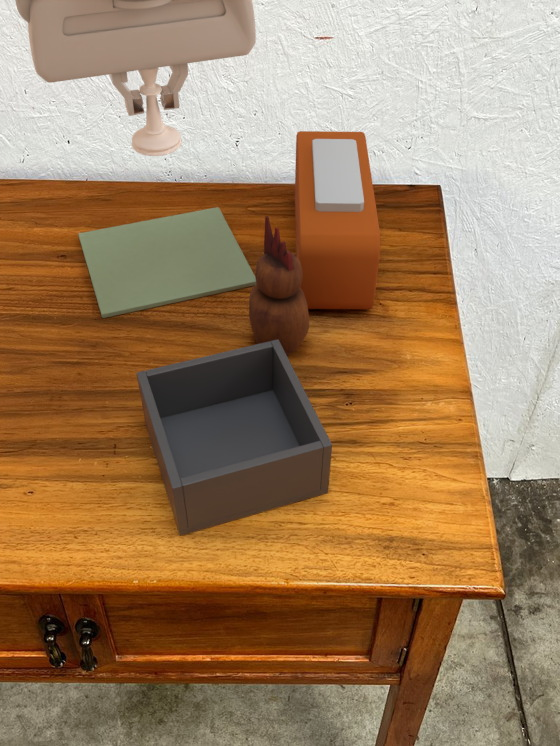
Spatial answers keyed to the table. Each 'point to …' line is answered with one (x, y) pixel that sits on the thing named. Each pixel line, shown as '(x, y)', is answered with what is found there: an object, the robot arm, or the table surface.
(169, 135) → the chess piece
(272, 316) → the wooden figurine
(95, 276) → the mat
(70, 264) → the table surface
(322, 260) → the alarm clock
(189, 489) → the tub
